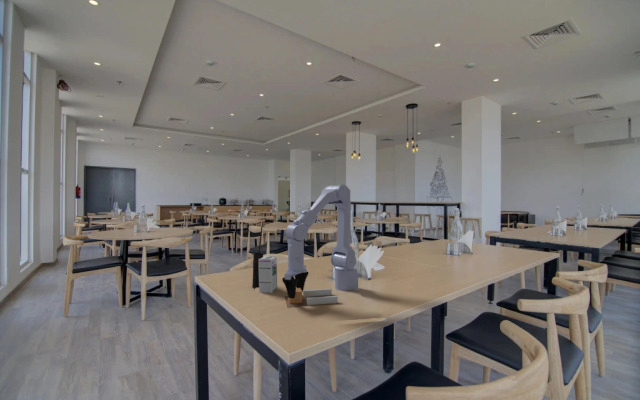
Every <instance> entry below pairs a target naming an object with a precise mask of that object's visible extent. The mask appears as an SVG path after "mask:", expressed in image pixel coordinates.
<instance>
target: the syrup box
mask: <svg viewBox="0 0 640 400" xmlns="http://www.w3.org/2000/svg"><path fill="white" fill-rule="evenodd" d="M277 263H278V261H277V256H272V255H267V256H266V255H265V256H264V255H263V258H261V259H259V288H258V292H259V293H265V294H267V293H269V294H274V292H276V291H277V290H278V272H277V271H278V270H277V269H278V268H277V267H278V266H277Z"/></svg>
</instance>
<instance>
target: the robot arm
mask: <svg viewBox="0 0 640 400" xmlns="http://www.w3.org/2000/svg"><path fill="white" fill-rule="evenodd" d="M329 203H332V204H333V205H334V206H335V207H336V208H337V225H336V226H337V229H336V231H337V232H336V245H335V247H333V248H332V253H331V256H330V263H331V265H332V266H333V269H334V289H335V290H336V291H337V290H338V291H344V292H345V291H351V290H355V291H356V292H357V293H358V292H360V290H359V273H358V269H357V268H355V267H356V264H357V258H356V251H355V250H354V248H352V247H351V221H352V220H351V217H352V216H351V215H352V201H351V190H350V188H349V187H348V185H346V184H338V185H337V184H335V185H334V184H333V185H326V186H324V189H321V194H320V195H319V196H318V198H317V199H316V201H315V202H314V203H313V204H312V206H311V207H310V209H305V210H301V214H300V215H299V216H298V218H297V219H294V221H293V223H291V224H288V226H287V227H286V229H285V231H284V237H285V238H286V239H287V241H286V242H287V270H286V272H285V273H284V277H282V279H281V281H282V282H283V284H284V286H285V289H286V293H287V296H288V297H289V298H295V293H296V288H301V290H302V293H303V290H305V285H306V280H307V278H308V276H309V271H307V270H308V269H307V266H306V264H305V263H304V261H305V259H304V256H305V255H304V253H305V251H304V250H305V246H304V242H305V239H306V238H307V236H308V231H309V229H310V228H311V227H312V226H313V225H314V224H315V223H316V221H317V220H318V218H317V217H318V216H317V215H319V213H320V212H321V211H322V210H324V208H325V207H326V206H328V204H329Z"/></svg>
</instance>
